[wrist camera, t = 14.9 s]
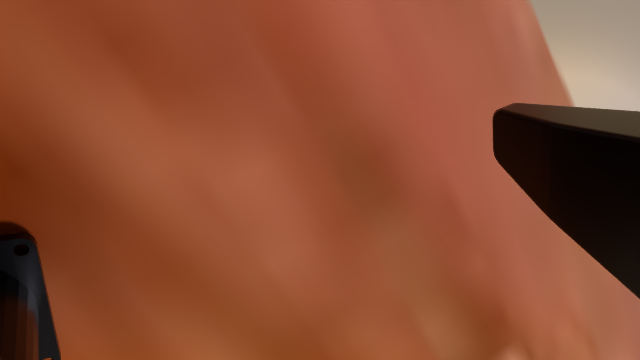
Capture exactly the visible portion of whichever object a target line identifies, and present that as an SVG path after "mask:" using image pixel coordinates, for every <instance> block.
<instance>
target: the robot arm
mask: <svg viewBox="0 0 640 360" xmlns="http://www.w3.org/2000/svg"><path fill="white" fill-rule="evenodd" d="M493 151H494V155H495V158H496V160H497V161H498V163H499V164H500V165H501V166H502V167H503V168H504V170H505V171H506V172H507V173H508V174H509V175H510V176H511V177H512V178H513V179H514V181H515V182H516V183H517V184H518V185H519V186H520V187H521V188H522V189H523V190H524V192H525V193H526V194H527V195H528V196H529V197H530V198H531V199H532V200H533V201H534V203H535V204H536V205H537V206H538V207H539V208H540V209H541V210H542V211H543V212H544V213H545V214H546V215H547V216H548V217H549V218H550V219H551V220H552V221H553V222H554V223H555V224H556V225H557V226H558V227H559V228H560V229H562V230H563V231H564V232H565V233H566V234H567V235H568V236H569V237H571V238H572V239H573V240H574V241H575V242H576V243H577V244H578V245H580V246H581V247H582V248H583V249H584V250H585V251H586V252H587V253H589V254H590V255H591V256H592V257H593V258H594V259H595V260H596V261H598V262H599V263H600V264H601V265H602V266H603V267H604V268H605V269H607V270H608V271H609V272H610V273H611V274H612V275H613V276H614V277H616V278H617V279H618V280H619V281H620V282H621V283H622V284H623V285H625V286H626V287H627V288H628V289H629V290H630V291H631V292H632V293H633V294H635V295H636V296H637V297H638V298H639V299H640V112H638V111H625V110H609V109H596V108H582V107H568V106H553V105H539V104H525V103H513V104H510V105H508V106H505V107H503V108H500V109H498V110H496V112H495V113H494V115H493ZM19 244H24V245H26V246H28V248H27V249H25V250H18V249H16V248H15V246H16V245H19ZM45 358H52V359H51V360H61V353H60V348H59V344H58V339H57V334H56V330H55V325H54V321H53V316H52V311H51V307H50V302H49V297H48V293H47V288H46V284H45V279H44V274H43V270H42V265H41V261H40V256H39V251H38V247H37V242H36V240H35V238H34V237H33V236H32V235H30V234H27V233H15V234H9V235H3V236H0V360H43V359H45Z"/></svg>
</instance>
